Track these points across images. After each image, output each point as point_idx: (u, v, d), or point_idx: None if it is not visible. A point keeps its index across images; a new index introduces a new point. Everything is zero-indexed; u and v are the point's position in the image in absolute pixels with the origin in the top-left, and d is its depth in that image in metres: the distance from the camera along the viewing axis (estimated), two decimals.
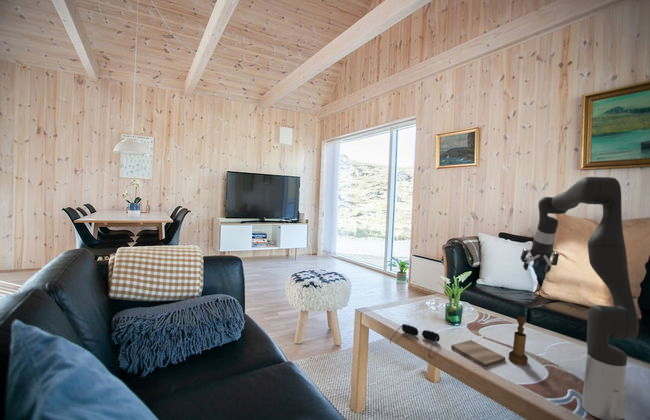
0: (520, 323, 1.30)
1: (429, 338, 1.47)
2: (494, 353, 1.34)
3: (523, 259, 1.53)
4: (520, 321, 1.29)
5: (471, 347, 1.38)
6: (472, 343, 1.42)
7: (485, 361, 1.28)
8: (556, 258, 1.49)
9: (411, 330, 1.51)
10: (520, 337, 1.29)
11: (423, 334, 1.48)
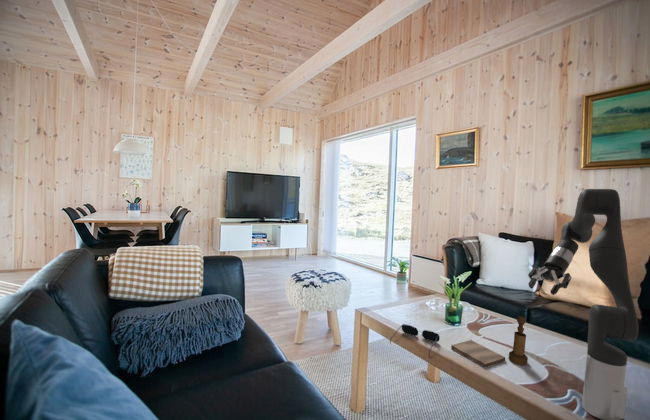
0: (520, 323, 1.30)
1: (429, 338, 1.47)
2: (494, 353, 1.34)
3: (530, 273, 1.42)
4: (520, 321, 1.29)
5: (471, 347, 1.38)
6: (472, 343, 1.42)
7: (485, 361, 1.28)
8: (566, 277, 1.31)
9: (411, 330, 1.51)
10: (520, 337, 1.29)
11: (423, 334, 1.48)
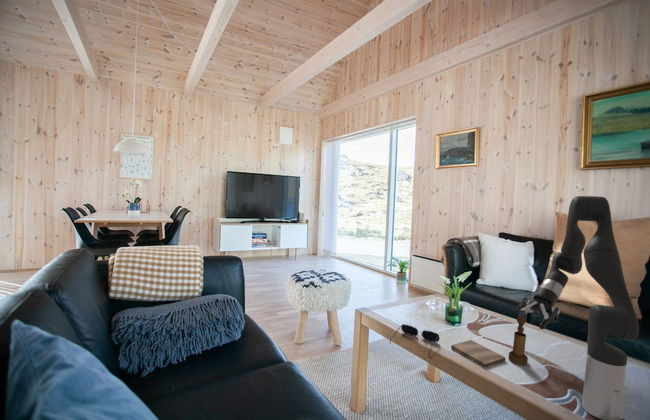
0: (520, 323, 1.30)
1: (429, 338, 1.47)
2: (494, 353, 1.34)
3: (519, 305, 1.40)
4: (520, 321, 1.29)
5: (471, 347, 1.38)
6: (472, 343, 1.42)
7: (485, 361, 1.28)
8: (555, 312, 1.29)
9: (411, 330, 1.51)
10: (520, 337, 1.29)
11: (423, 334, 1.48)
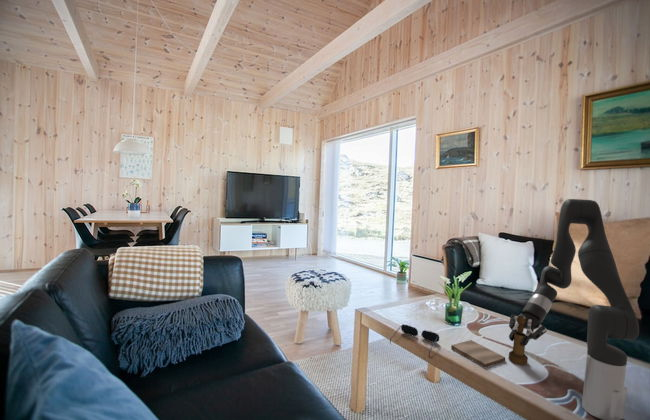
0: (520, 323, 1.30)
1: (429, 338, 1.47)
2: (494, 353, 1.34)
3: (511, 324, 1.35)
4: (520, 321, 1.29)
5: (471, 347, 1.38)
6: (472, 343, 1.42)
7: (485, 361, 1.28)
8: (539, 330, 1.27)
9: (411, 330, 1.51)
10: (520, 337, 1.29)
11: (423, 334, 1.48)
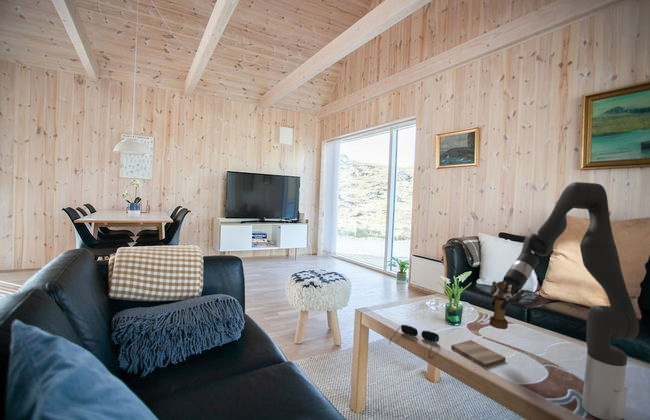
0: (500, 288, 1.31)
1: (428, 338, 1.46)
2: (494, 353, 1.34)
3: (492, 290, 1.37)
4: (500, 286, 1.31)
5: (471, 347, 1.38)
6: (472, 343, 1.42)
7: (485, 361, 1.28)
8: (518, 294, 1.28)
9: (410, 330, 1.51)
10: (500, 302, 1.31)
11: (423, 334, 1.48)
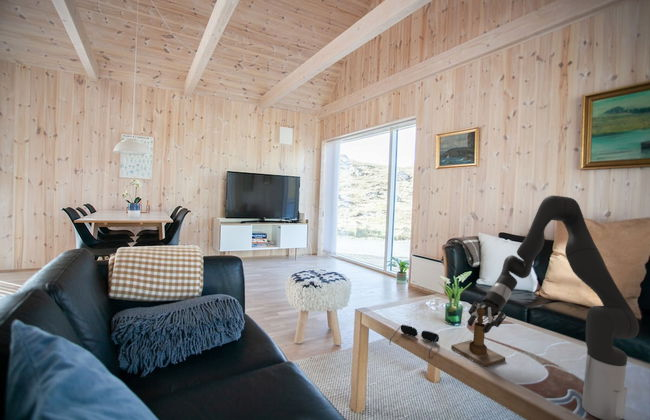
0: (479, 314, 1.33)
1: (428, 339, 1.46)
2: (494, 353, 1.34)
3: (470, 310, 1.40)
4: (479, 312, 1.33)
5: None
6: None
7: (485, 361, 1.28)
8: (499, 316, 1.30)
9: (410, 331, 1.50)
10: (479, 327, 1.33)
11: (423, 334, 1.47)
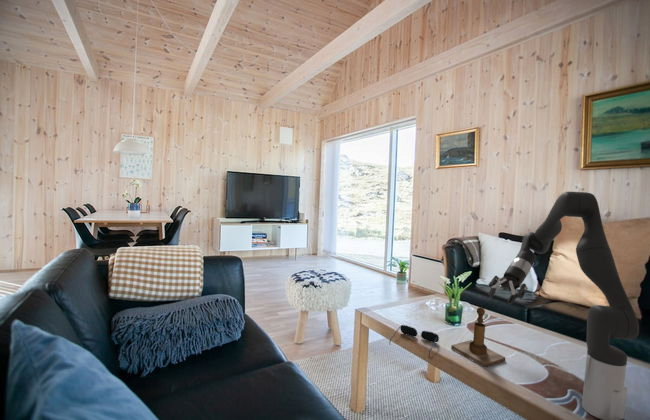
0: (479, 314, 1.33)
1: (428, 339, 1.46)
2: (494, 353, 1.34)
3: (490, 283, 1.46)
4: (479, 312, 1.33)
5: None
6: None
7: (485, 361, 1.28)
8: (522, 288, 1.35)
9: (410, 331, 1.50)
10: (479, 327, 1.33)
11: (422, 334, 1.47)
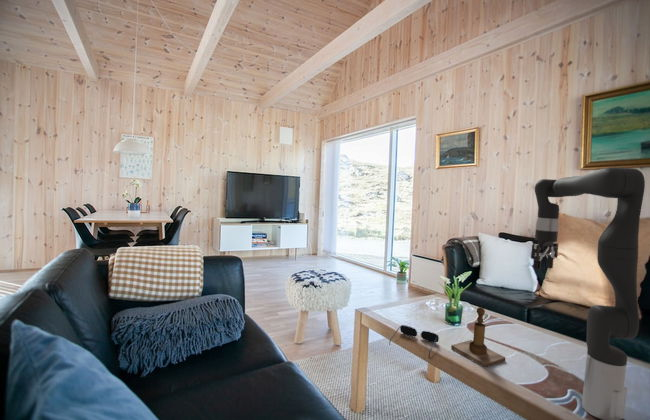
0: (479, 314, 1.33)
1: (428, 339, 1.46)
2: (494, 353, 1.34)
3: (538, 256, 1.30)
4: (479, 312, 1.33)
5: None
6: None
7: (485, 361, 1.28)
8: (557, 248, 1.36)
9: (410, 331, 1.50)
10: (479, 327, 1.33)
11: (422, 334, 1.47)
